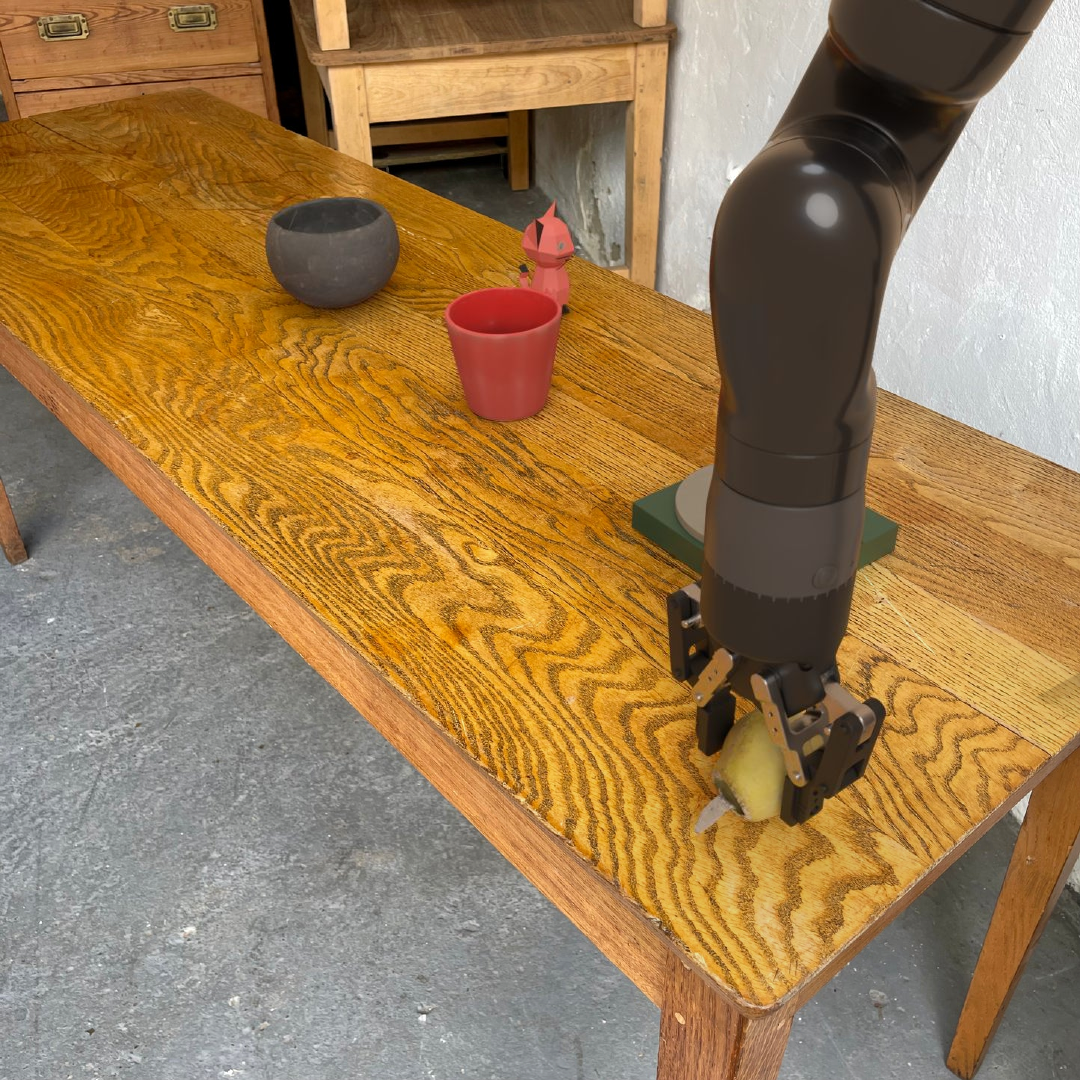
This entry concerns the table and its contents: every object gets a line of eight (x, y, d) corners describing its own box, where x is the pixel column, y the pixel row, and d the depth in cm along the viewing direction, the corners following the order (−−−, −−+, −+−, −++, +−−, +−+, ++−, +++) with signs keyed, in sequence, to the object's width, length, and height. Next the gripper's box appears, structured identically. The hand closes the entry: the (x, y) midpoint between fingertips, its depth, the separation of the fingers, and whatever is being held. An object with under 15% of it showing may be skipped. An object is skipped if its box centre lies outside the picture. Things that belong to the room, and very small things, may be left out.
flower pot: (585, 409, 105) (584, 314, 100) (484, 441, 101) (478, 344, 95) (529, 367, 113) (525, 276, 107) (432, 396, 108) (424, 303, 103)
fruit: (655, 814, 64) (759, 709, 69) (736, 887, 62) (838, 774, 67) (672, 771, 60) (782, 662, 65) (759, 848, 58) (867, 729, 62)
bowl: (316, 337, 120) (302, 248, 114) (253, 297, 130) (237, 213, 124) (429, 300, 127) (422, 215, 122) (362, 264, 137) (352, 184, 131)
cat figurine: (565, 332, 119) (564, 223, 112) (507, 323, 122) (502, 216, 115) (587, 306, 125) (587, 201, 118) (531, 299, 127) (528, 195, 120)
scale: (894, 550, 86) (901, 516, 84) (765, 620, 79) (769, 585, 77) (756, 469, 96) (759, 437, 94) (631, 526, 89) (632, 493, 87)
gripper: (951, 586, 51) (896, 827, 61) (733, 461, 61) (716, 686, 71) (840, 652, 48) (801, 896, 57) (628, 508, 57) (625, 738, 67)
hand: (754, 779), depth 64 cm, fingers closed on fruit, 6 cm apart
